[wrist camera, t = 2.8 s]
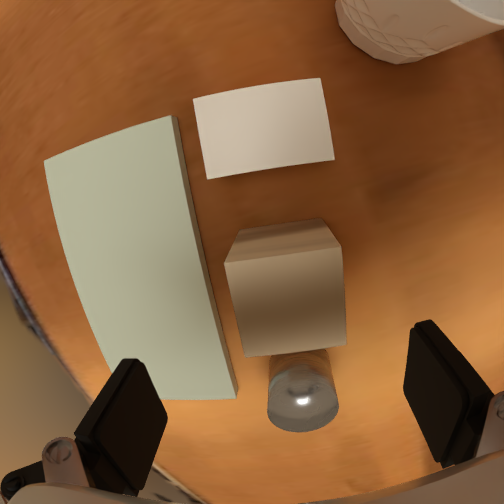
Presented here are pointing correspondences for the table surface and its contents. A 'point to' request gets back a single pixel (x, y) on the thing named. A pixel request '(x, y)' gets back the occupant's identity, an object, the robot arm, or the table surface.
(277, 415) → the metal cylinder
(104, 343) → the sage board
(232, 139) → the white block
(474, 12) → the white cup
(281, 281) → the maple block
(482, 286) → the table surface
